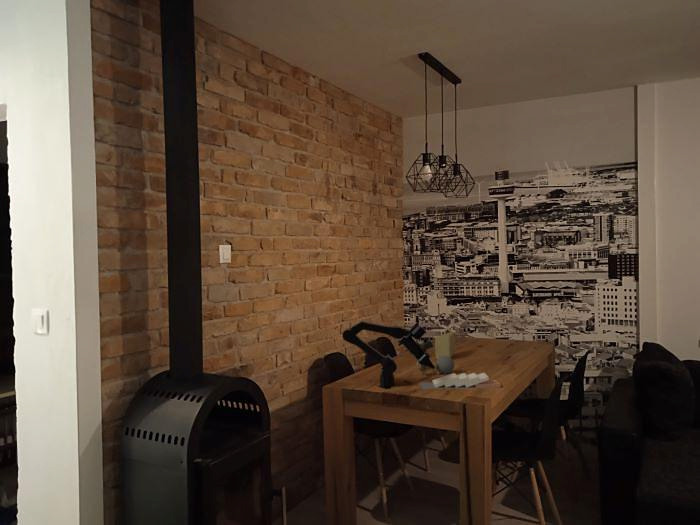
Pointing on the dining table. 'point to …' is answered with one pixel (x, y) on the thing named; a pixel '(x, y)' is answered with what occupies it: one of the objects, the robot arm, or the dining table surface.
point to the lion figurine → (427, 368)
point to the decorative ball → (445, 364)
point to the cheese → (445, 345)
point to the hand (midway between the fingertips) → (434, 368)
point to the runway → (431, 386)
